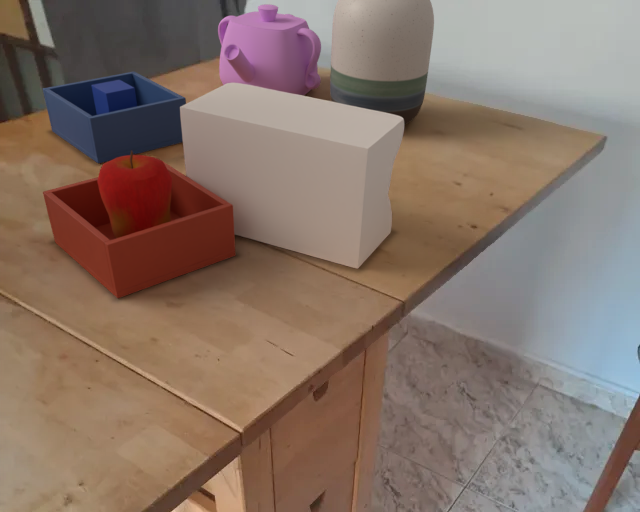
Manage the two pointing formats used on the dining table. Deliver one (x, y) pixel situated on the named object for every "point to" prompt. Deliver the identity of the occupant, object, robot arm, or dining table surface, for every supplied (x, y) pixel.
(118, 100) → the block
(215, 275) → the dining table surface
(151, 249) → the red bin
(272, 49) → the teapot
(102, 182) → the apple
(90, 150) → the blue bin
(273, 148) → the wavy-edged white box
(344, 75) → the vase
